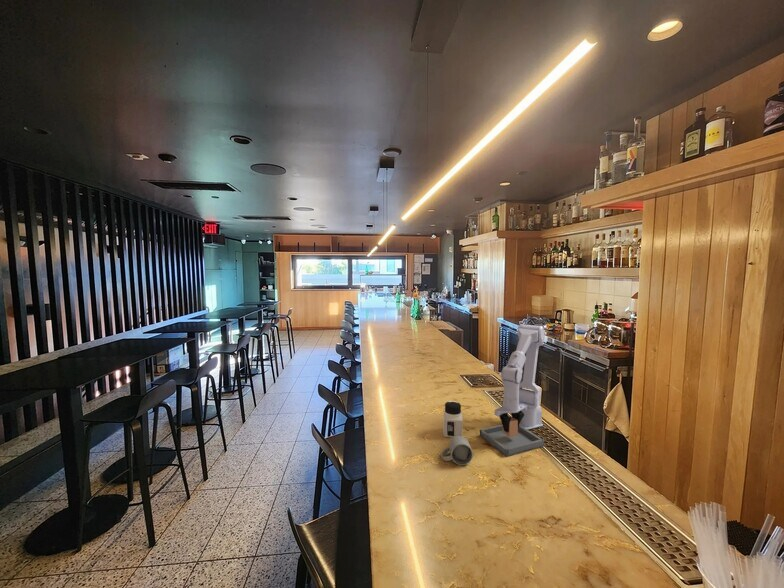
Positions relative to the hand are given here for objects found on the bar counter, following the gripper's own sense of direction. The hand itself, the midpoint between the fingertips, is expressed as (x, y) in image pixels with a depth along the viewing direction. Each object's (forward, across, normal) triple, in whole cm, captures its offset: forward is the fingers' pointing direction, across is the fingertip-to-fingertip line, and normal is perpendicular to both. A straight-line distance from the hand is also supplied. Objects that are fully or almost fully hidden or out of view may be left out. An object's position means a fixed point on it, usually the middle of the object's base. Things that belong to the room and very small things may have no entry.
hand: (510, 430), depth 124 cm
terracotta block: (+2, 0, 0) cm, 2 cm away
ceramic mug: (+5, +27, +2) cm, 27 cm away
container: (+5, +18, -14) cm, 23 cm away
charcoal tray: (+4, 0, 0) cm, 4 cm away
